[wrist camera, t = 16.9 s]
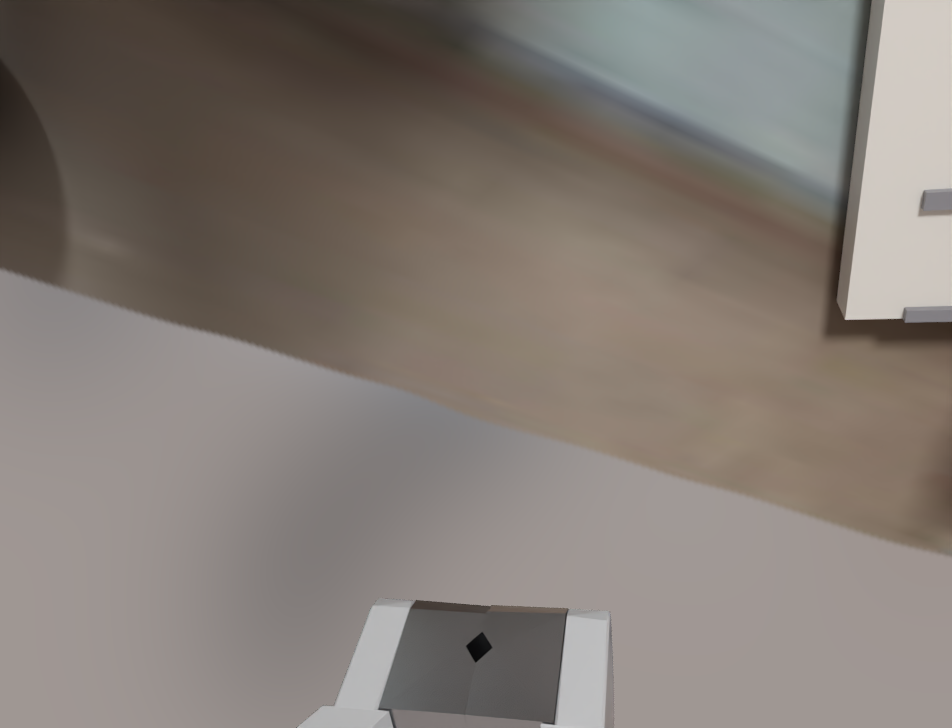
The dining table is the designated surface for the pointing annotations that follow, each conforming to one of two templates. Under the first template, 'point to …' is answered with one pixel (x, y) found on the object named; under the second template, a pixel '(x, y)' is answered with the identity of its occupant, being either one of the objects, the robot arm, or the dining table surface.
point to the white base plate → (902, 169)
